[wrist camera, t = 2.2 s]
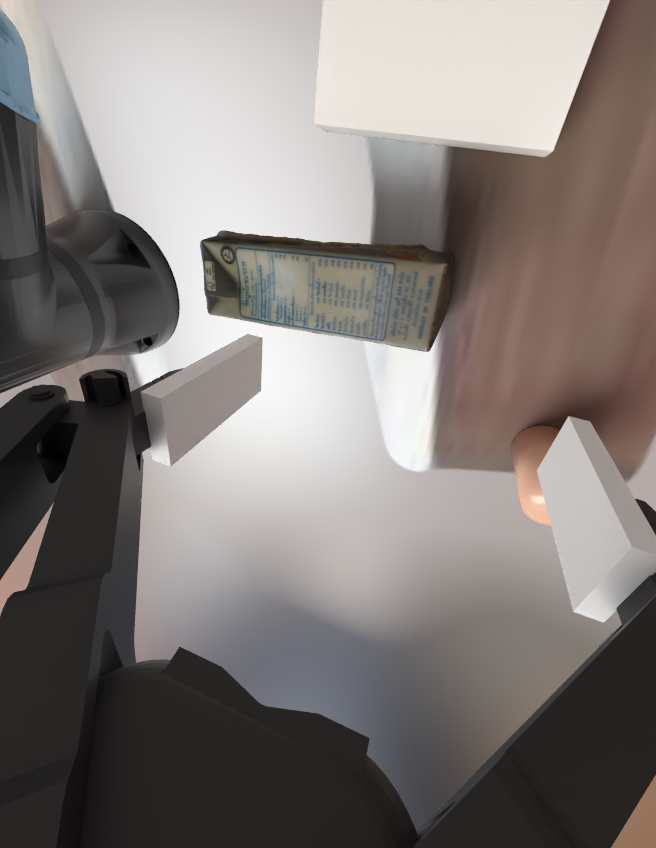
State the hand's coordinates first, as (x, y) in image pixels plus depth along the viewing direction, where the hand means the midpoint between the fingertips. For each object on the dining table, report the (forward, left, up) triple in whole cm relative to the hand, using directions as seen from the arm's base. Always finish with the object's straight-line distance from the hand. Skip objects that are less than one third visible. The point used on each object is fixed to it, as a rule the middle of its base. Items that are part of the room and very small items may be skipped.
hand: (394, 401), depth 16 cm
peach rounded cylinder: (+14, -11, -20) cm, 26 cm away
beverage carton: (0, 0, -21) cm, 21 cm away
